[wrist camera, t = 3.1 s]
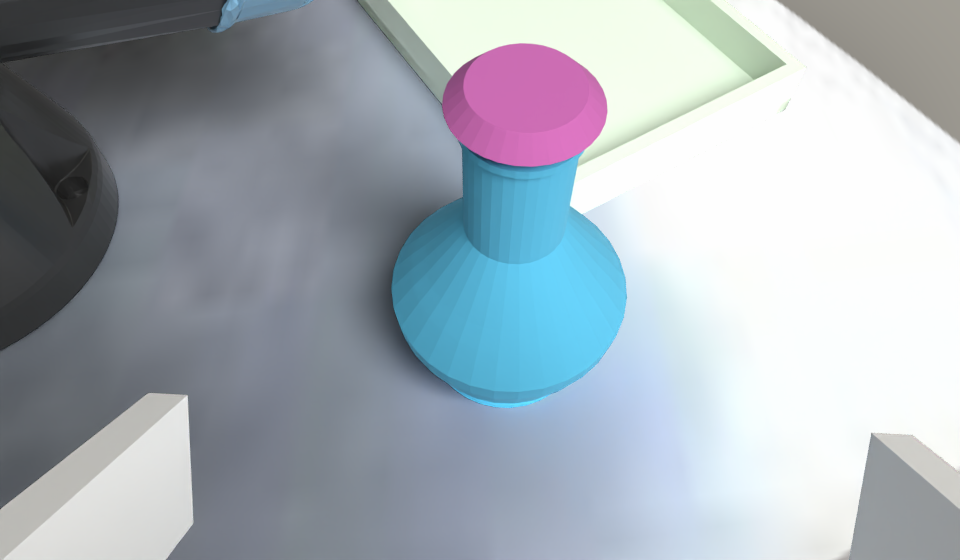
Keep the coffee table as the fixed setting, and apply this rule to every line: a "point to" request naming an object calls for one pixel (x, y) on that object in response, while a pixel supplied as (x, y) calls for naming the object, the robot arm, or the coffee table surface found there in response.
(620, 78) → the parts tray
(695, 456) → the coffee table surface
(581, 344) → the perfume bottle
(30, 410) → the coffee table surface
